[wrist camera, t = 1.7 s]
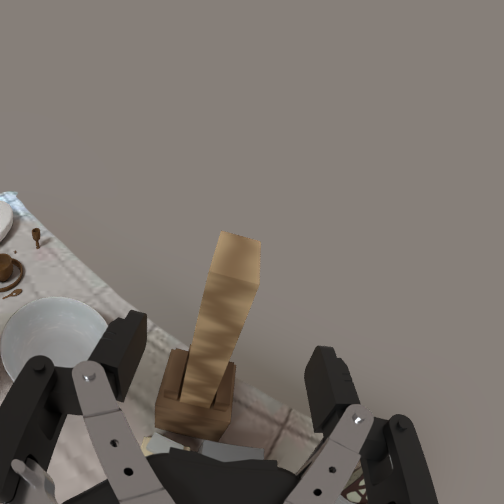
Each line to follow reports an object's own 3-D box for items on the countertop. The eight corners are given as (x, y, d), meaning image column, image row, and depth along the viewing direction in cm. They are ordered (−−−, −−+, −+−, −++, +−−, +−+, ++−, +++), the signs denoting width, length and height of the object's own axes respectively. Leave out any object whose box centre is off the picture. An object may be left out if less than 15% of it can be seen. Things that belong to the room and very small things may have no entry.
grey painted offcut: (146, 449, 29) (145, 447, 28) (154, 435, 31) (154, 431, 30) (175, 464, 28) (176, 461, 27) (183, 448, 31) (184, 446, 30)
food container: (324, 530, 24) (361, 524, 19) (303, 506, 28) (337, 496, 23) (372, 489, 31) (410, 472, 26) (353, 468, 35) (388, 449, 30)
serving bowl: (47, 438, 25) (32, 422, 22) (-1, 345, 33) (-13, 321, 29) (140, 378, 42) (139, 356, 38) (79, 307, 49) (75, 281, 46)
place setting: (-19, 265, 45) (-24, 245, 42) (40, 244, 60) (38, 225, 57) (-10, 309, 38) (-18, 288, 35) (60, 281, 53) (57, 260, 50)
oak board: (179, 401, 32) (208, 271, 21) (189, 361, 38) (221, 230, 27) (209, 408, 33) (259, 284, 22) (215, 368, 39) (260, 241, 28)
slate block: (188, 510, 24) (194, 507, 21) (196, 454, 33) (203, 439, 29) (244, 517, 25) (262, 514, 21) (247, 462, 34) (264, 448, 30)
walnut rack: (154, 427, 35) (155, 396, 29) (167, 378, 44) (173, 338, 38) (217, 441, 36) (235, 415, 30) (223, 392, 45) (240, 355, 39)
